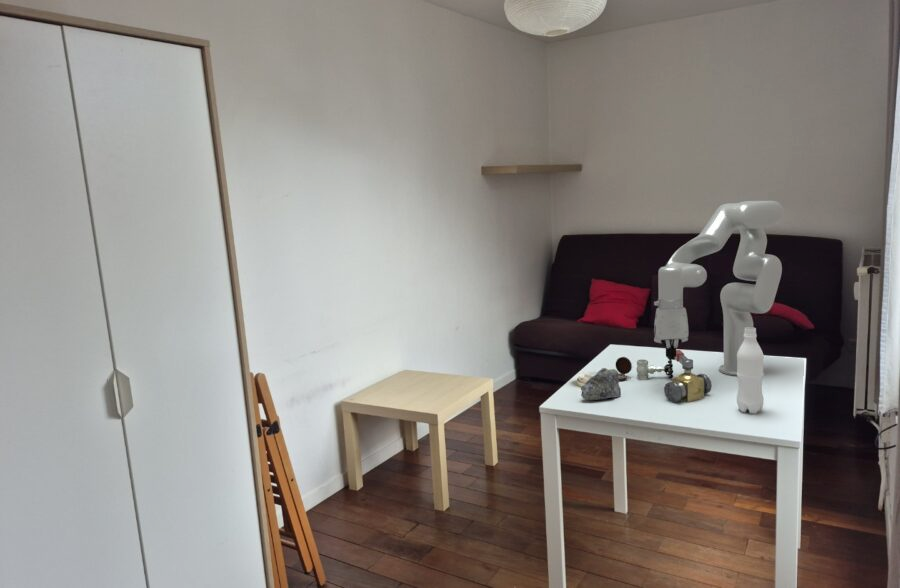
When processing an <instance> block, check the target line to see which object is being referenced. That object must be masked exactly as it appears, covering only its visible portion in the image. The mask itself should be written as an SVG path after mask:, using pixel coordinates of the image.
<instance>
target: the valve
mask: <svg viewBox="0 0 900 588" xmlns="http://www.w3.org/2000/svg"><path fill="white" fill-rule="evenodd" d="M673 367H674V365H673V360H669V359H668V360H667V364H665V365H664V367H662V366H657V367H656V366H654V365H653V364H652V365H651V364H650V365H649V361H648V359H643V358H642V359H637V360H636V368H635V369H636V373H637V374H636V378H637V380H640V381H647V380H648V379H649V374H650V375H654V373H656V372H657V373H662V372H663V373H665V375H666V376H668V379H672V378H674V368H673Z"/></svg>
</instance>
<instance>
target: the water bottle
mask: <svg viewBox="0 0 900 588" xmlns="http://www.w3.org/2000/svg"><path fill="white" fill-rule="evenodd" d="M744 332H745V333H744V341H743V343H742V345H741V346H740V348H739V350H738V352H737V380H738V390H737V393H736V404H737V406H738V409H739V410H740V412H742V413H746V412H747V411H748V412H749V413H750V414H752V415H753V414H757V413H758V412H759V413H760V412H761V411H762V410H763V406H764V395H763V387H762V386H763V380H764V379H763V378H764V375H765V373H764V358H765V355H764V353H763V350H762V348H761V346H760V344H759V342H758V341H757V336H758V335H757V328H756V327H754V326H753V327H747V328H745V331H744Z"/></svg>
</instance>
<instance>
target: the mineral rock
mask: <svg viewBox="0 0 900 588" xmlns="http://www.w3.org/2000/svg"><path fill="white" fill-rule="evenodd" d="M618 373H619V372H618V371H617V369H615V368H612V369H607V368H606V367H602V368H601V369H600V370H598V372H597V373H596V374H595V375H593V376H592V377H590V378H589V379H588V380H587V381H586V382H585V384H583V385H581V387H580V390H581V393H580V396H581V397H582V399H585V400H594V401H595V400H597V401H598V400H599V401H600V400H605V399H611V398H619V397H621V395H622V393H621V390H622V389H621V386H620V385H619V382H620V381H619V378H618Z"/></svg>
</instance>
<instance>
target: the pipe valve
mask: <svg viewBox="0 0 900 588" xmlns="http://www.w3.org/2000/svg"><path fill="white" fill-rule="evenodd" d="M683 370H684V371H683V372H682V373H680V374H679V375H678V376H674V377H673V378H671V381H669V382H667V383H665V385H664V388H663V391H664V392H663V393H664V396H665V397H666V399H667V400H668V401H669V402H671V403H673V404H674V403H677V402H680V401H682V402H685V403H690V402H694V401H698V400H701V399H704V398H705V394H708V393H711V390H712V387H713V386H712V385H713V384H712V380H711V379H710V377H709V376H708V375H707V374H704V373H699V374H695V373H693V372H692V369H691V370H686V369H683Z"/></svg>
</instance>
